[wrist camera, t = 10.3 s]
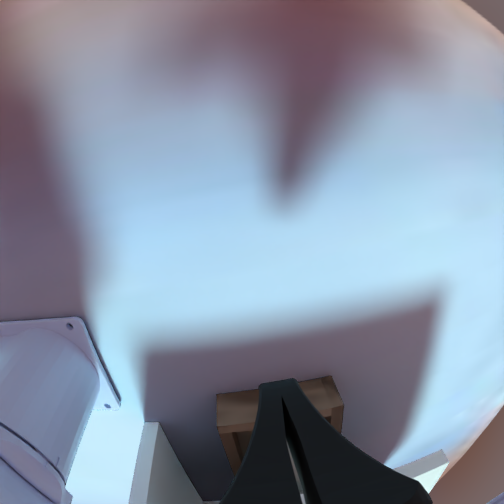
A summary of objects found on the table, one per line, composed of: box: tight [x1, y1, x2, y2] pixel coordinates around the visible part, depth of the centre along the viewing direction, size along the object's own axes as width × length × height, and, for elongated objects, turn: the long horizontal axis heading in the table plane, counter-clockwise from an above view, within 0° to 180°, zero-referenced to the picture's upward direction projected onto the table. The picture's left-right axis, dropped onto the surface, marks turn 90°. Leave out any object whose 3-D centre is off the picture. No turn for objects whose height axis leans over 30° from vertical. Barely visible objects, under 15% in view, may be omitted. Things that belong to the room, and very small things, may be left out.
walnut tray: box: [217, 376, 344, 494], centre depth 20 cm, size 8×12×6 cm, turn 7°
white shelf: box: [129, 422, 449, 504], centre depth 20 cm, size 20×16×9 cm
